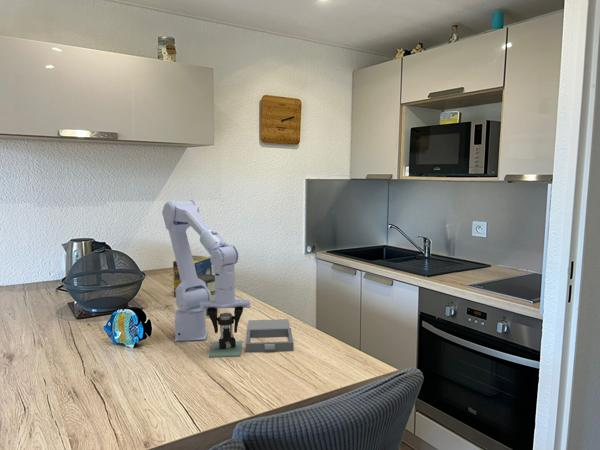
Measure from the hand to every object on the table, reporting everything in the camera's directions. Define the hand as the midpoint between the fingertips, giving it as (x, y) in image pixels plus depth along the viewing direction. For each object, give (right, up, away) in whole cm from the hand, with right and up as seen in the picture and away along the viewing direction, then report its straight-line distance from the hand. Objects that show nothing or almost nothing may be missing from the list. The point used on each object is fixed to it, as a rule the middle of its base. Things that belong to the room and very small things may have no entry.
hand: (225, 331), depth 136 cm
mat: (0, -5, +1) cm, 6 cm away
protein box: (-25, +1, +65) cm, 69 cm away
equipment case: (+12, -4, +12) cm, 17 cm away
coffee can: (-14, -2, +35) cm, 38 cm away
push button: (0, -5, +1) cm, 5 cm away
